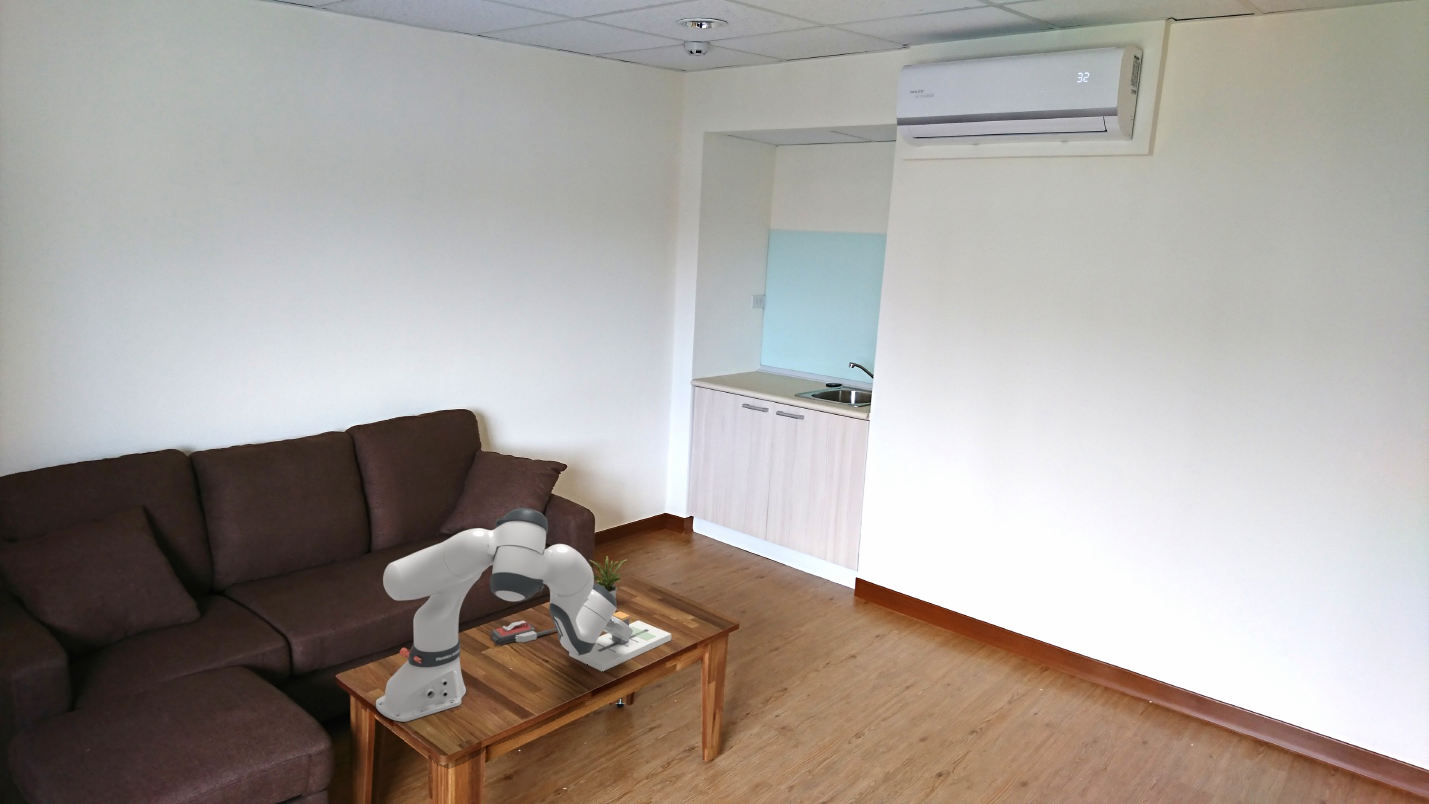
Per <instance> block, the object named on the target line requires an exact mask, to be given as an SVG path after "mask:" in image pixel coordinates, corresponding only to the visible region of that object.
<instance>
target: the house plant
mask: <svg viewBox="0 0 1429 804" xmlns="http://www.w3.org/2000/svg"><path fill="white" fill-rule="evenodd" d="M628 560H629V559H623V560H621V561H619V562H618V561H615V562H614V563H613V560H611V561H610V565H609V557H608V555H606V557H605V563H604V567H603V566H602V564H601V563H600V562H597V561H596V562H595V561H594V560H591V559H588V561H590V562H591V563H592V564H594V565H595V566H596V568H597V569H598V571H597V570H596V569H595V568H593V566H590V567H591V568H592V570H594V571H595V572H596V573H597V574H598V575H599V576H598V575H597V574H594V573H593V575H594V581H595V583H597V584H599V585H601V586H603V587H604V588H605V589H607V590H608V591H609V592H610V593H611V594H612V595H613V596H614V597H615V598H616V597H617V590H618V587H617V586H616V585H614V584H615V583H616V582H618V583H621V580H622V578H620V577H622V575H621V574H617V571H620V570H621V569H622V567H620V566H621V565H622V564H624V562H625V561H628ZM617 563H618V564H617ZM615 564H616V566H615ZM614 566H615V568H614V570H613V567H614ZM619 567H620V569H619ZM612 570H613V572H612Z"/></svg>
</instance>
